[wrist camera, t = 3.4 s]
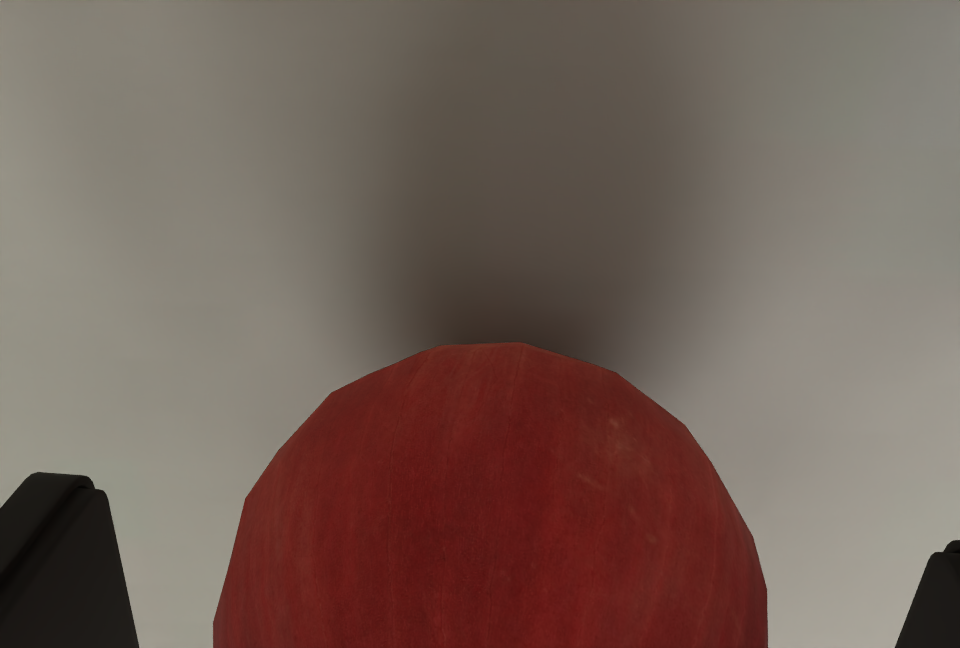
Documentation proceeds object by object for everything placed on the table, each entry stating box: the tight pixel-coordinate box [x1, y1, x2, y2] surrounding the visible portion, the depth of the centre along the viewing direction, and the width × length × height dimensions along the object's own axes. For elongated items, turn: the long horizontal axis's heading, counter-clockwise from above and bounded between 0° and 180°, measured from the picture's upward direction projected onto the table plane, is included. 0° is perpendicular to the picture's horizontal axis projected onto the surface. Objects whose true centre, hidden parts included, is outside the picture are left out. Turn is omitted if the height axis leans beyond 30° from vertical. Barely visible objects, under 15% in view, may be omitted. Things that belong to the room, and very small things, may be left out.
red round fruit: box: [213, 342, 768, 648], centre depth 9 cm, size 6×6×8 cm
